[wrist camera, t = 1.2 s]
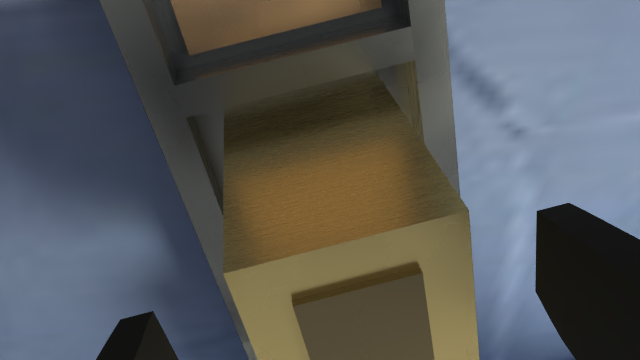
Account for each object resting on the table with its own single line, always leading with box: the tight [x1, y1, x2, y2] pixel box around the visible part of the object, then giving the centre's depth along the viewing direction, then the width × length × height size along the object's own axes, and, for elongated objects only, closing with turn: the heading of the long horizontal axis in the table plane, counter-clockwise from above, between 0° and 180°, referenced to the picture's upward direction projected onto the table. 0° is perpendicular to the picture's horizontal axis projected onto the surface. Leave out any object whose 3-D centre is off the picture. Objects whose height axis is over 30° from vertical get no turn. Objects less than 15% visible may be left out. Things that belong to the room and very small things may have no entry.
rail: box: [99, 0, 460, 360], centre depth 15 cm, size 19×7×1 cm, turn 12°
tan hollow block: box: [223, 76, 479, 360], centre depth 12 cm, size 4×4×6 cm
